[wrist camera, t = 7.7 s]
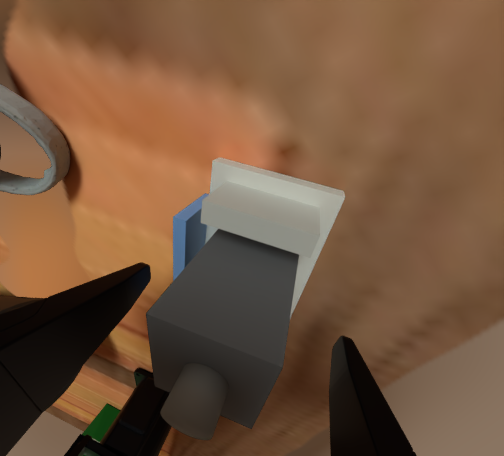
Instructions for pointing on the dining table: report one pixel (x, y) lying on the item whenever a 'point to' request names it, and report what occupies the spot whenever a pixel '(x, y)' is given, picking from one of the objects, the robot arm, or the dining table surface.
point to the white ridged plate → (259, 215)
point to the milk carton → (101, 423)
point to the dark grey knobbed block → (222, 333)
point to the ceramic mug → (45, 137)
